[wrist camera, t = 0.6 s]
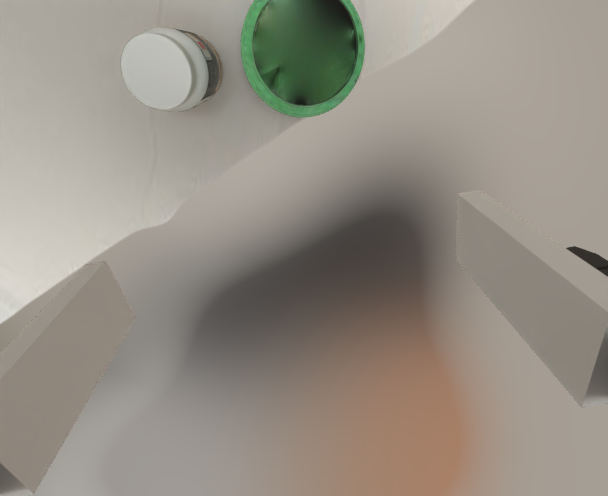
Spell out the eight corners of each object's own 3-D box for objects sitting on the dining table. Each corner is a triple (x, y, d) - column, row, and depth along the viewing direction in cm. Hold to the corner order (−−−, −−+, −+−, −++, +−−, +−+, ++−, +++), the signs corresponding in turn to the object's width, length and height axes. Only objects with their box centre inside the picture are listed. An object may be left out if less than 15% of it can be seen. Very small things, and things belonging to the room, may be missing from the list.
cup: (235, 38, 31) (208, 26, 20) (313, -23, 29) (328, -70, 19) (286, 119, 34) (285, 145, 24) (358, 69, 32) (392, 73, 22)
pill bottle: (184, 16, 30) (141, -2, 21) (236, 68, 32) (217, 71, 23) (147, 69, 32) (94, 72, 23) (198, 115, 34) (168, 134, 25)
